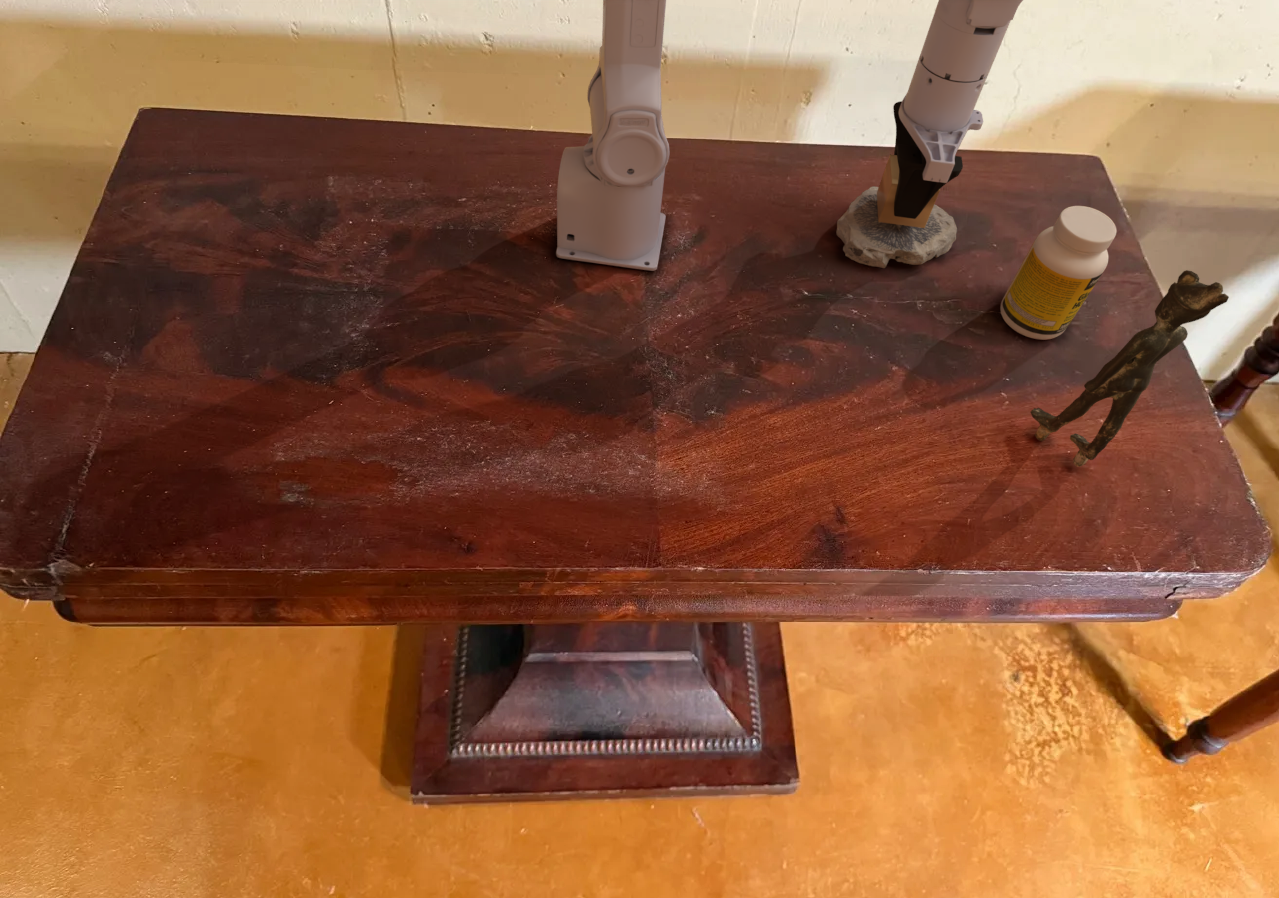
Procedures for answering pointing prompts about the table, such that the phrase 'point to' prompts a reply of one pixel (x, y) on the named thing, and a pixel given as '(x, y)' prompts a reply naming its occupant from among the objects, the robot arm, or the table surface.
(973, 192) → the table surface
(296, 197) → the table surface
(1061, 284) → the pill bottle
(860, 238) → the fossil
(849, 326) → the table surface
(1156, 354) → the statue
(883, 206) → the block
